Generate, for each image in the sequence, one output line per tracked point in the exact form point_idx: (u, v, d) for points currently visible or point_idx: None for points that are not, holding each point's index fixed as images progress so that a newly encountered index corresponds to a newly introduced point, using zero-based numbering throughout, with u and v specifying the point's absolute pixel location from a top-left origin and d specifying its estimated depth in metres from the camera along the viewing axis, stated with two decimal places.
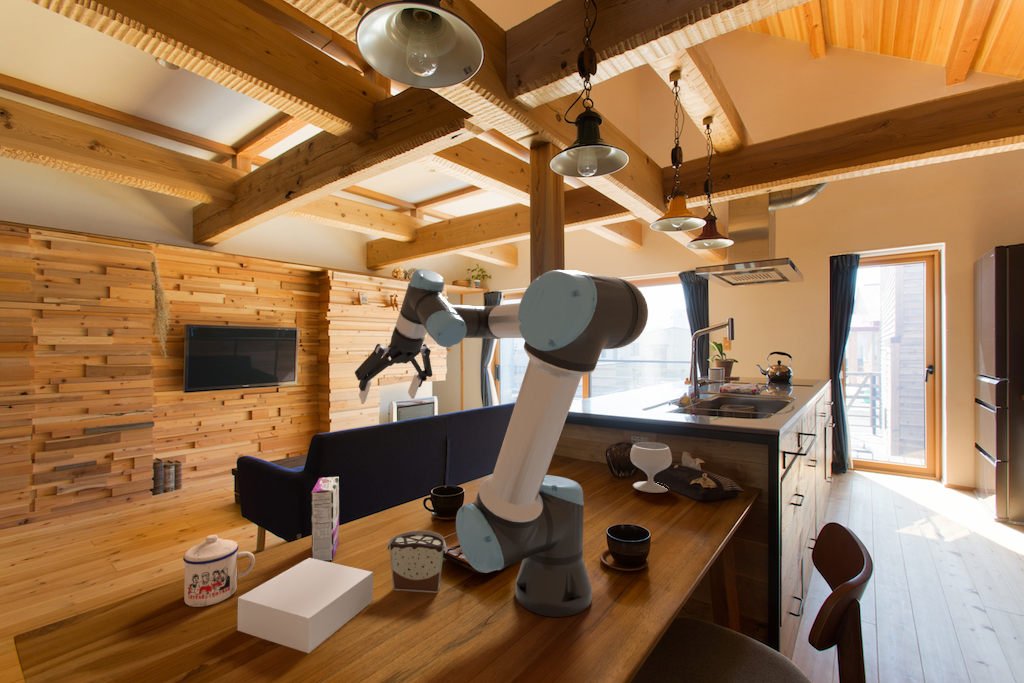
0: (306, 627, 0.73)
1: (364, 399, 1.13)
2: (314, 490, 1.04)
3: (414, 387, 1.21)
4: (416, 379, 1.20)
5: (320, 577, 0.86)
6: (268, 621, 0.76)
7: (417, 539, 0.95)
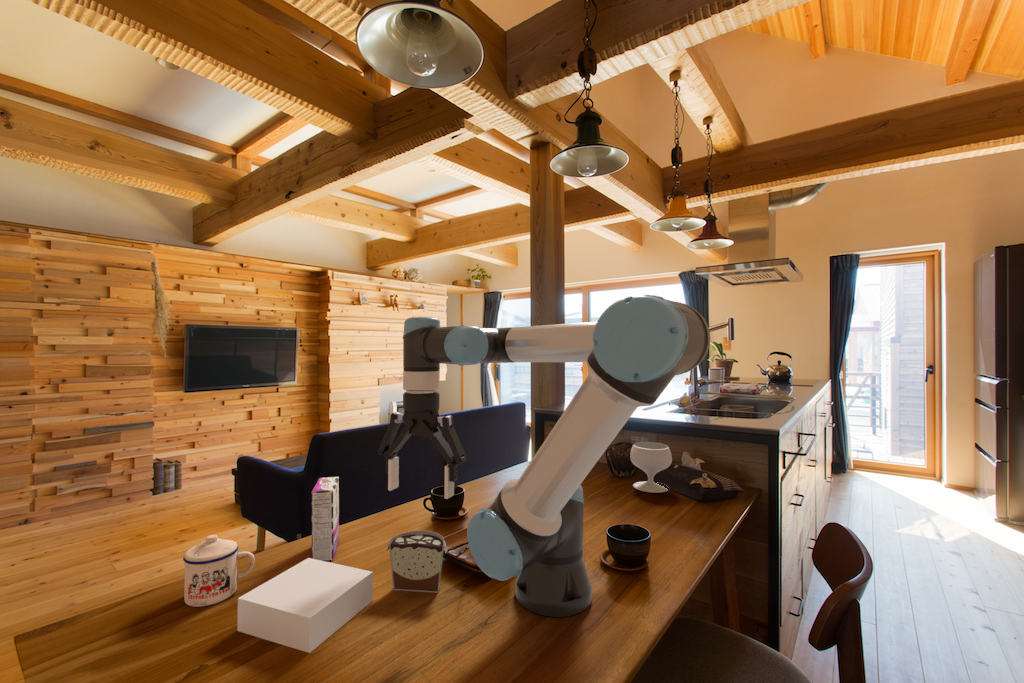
0: (307, 626, 0.73)
1: (389, 485, 0.96)
2: (314, 490, 1.04)
3: None
4: None
5: (320, 577, 0.86)
6: (268, 621, 0.76)
7: (417, 539, 0.95)
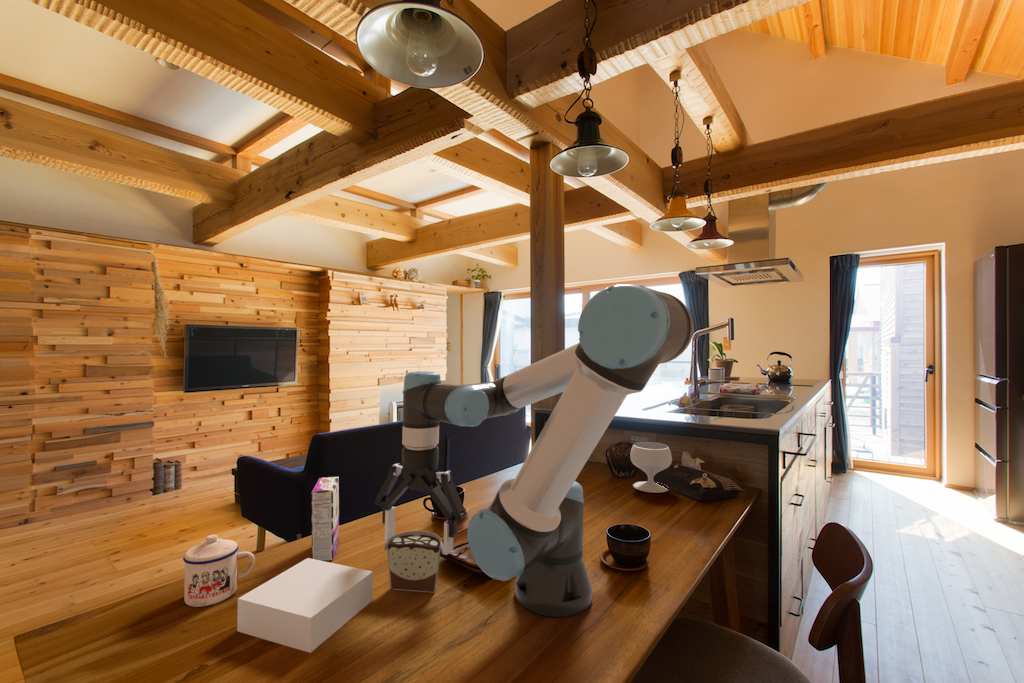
0: (308, 626, 0.73)
1: (386, 536, 0.96)
2: (314, 490, 1.04)
3: None
4: None
5: (320, 577, 0.86)
6: (268, 621, 0.76)
7: (414, 539, 0.95)
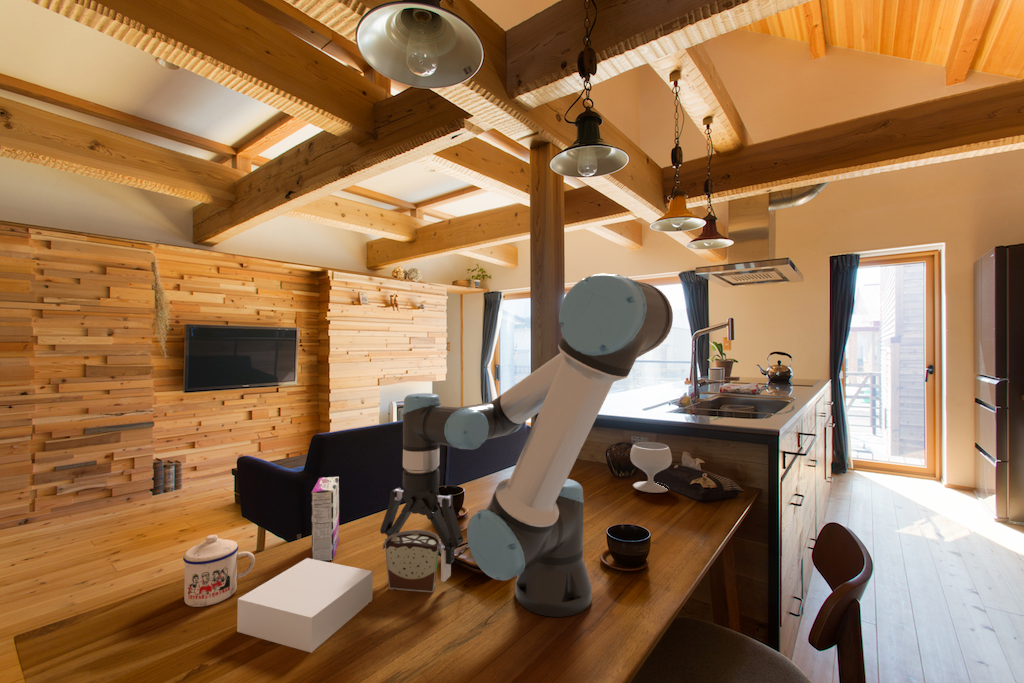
0: (309, 626, 0.73)
1: None
2: (314, 490, 1.04)
3: None
4: None
5: (319, 577, 0.86)
6: (269, 622, 0.76)
7: (413, 538, 0.95)
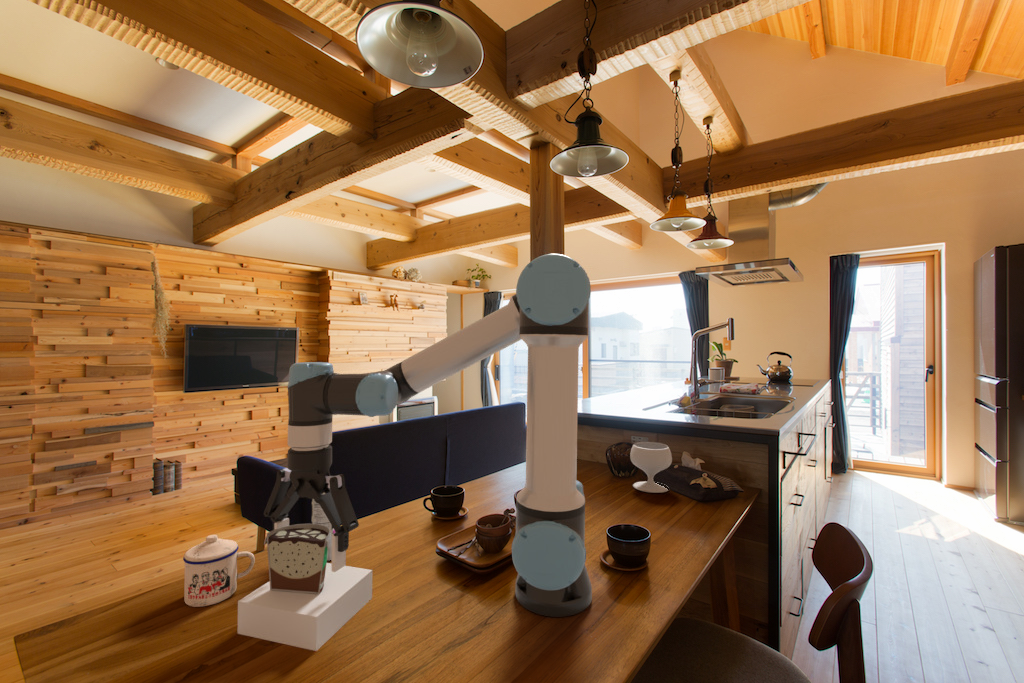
0: (314, 625, 0.74)
1: None
2: None
3: None
4: None
5: None
6: (271, 623, 0.76)
7: (302, 533, 0.84)
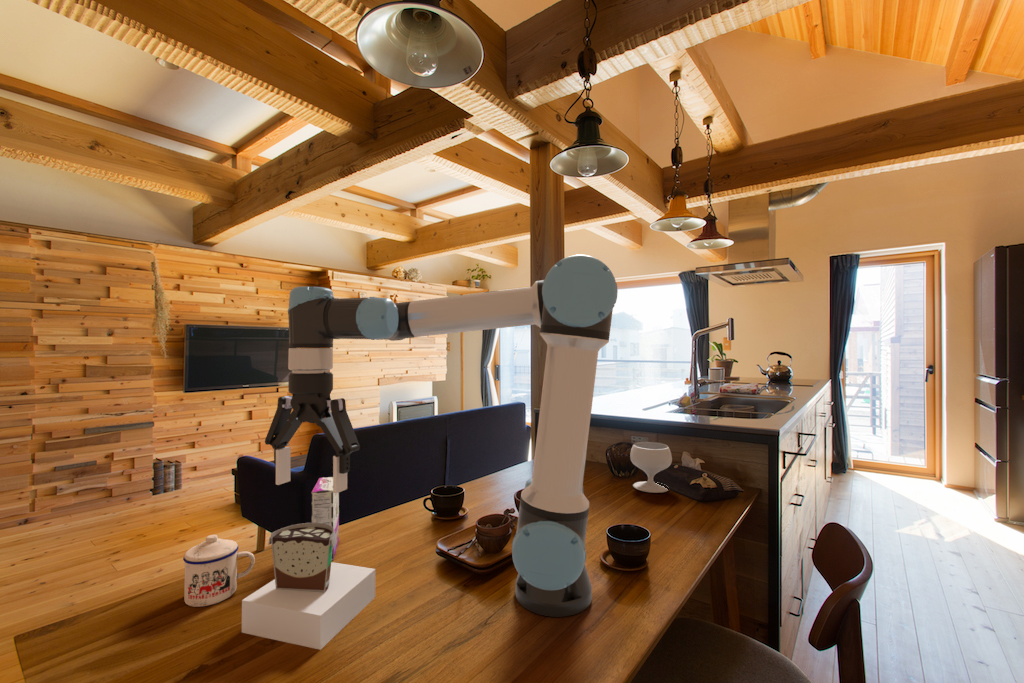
0: (318, 624, 0.74)
1: (277, 479, 0.85)
2: (314, 490, 1.04)
3: None
4: None
5: None
6: (275, 621, 0.76)
7: (306, 532, 0.84)
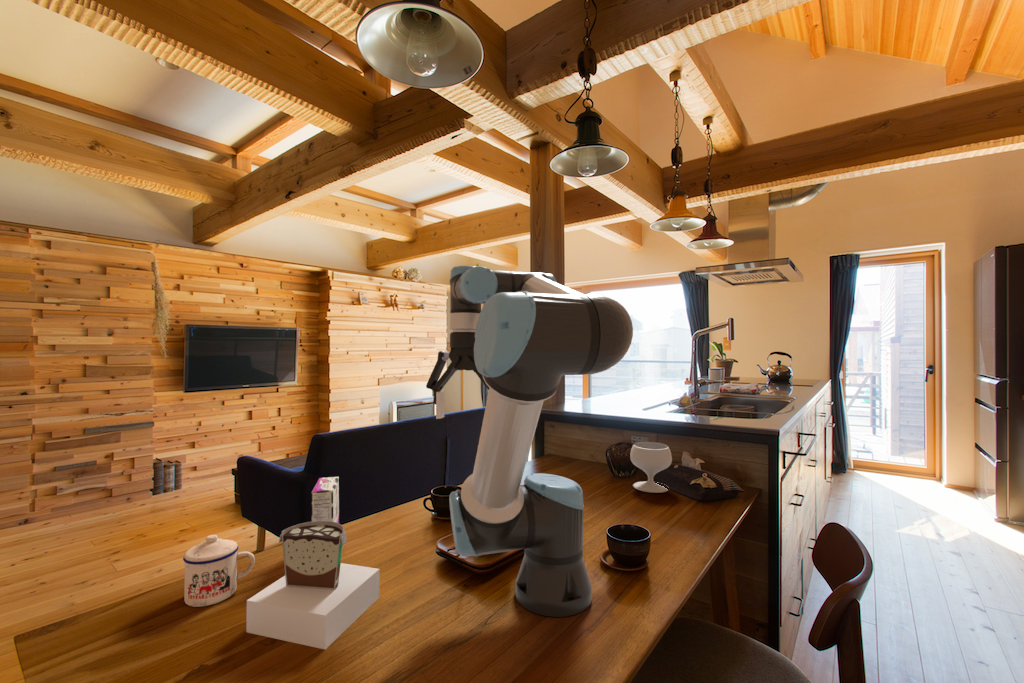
0: (323, 624, 0.74)
1: (437, 414, 1.10)
2: (314, 490, 1.04)
3: None
4: None
5: None
6: (280, 622, 0.76)
7: (316, 530, 0.85)
